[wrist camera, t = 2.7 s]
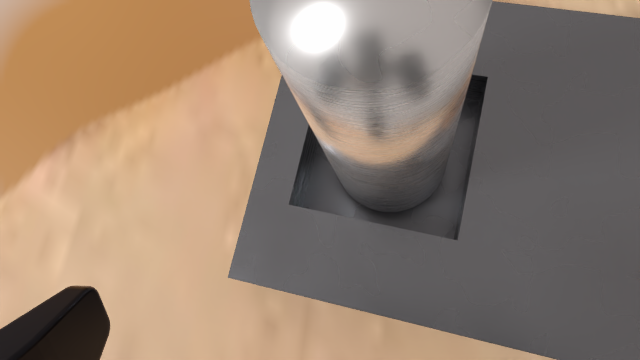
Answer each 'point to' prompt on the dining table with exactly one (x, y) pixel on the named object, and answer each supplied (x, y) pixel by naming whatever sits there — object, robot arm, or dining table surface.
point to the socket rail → (483, 201)
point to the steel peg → (378, 85)
